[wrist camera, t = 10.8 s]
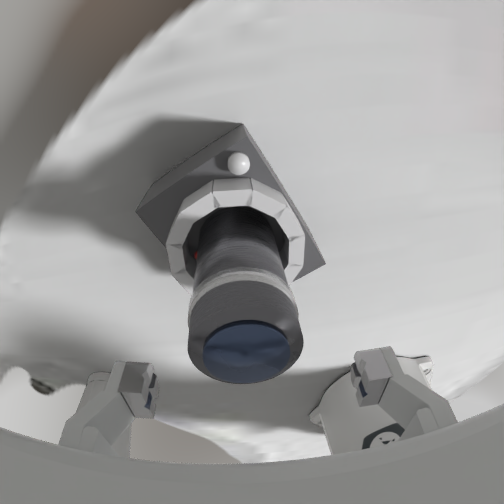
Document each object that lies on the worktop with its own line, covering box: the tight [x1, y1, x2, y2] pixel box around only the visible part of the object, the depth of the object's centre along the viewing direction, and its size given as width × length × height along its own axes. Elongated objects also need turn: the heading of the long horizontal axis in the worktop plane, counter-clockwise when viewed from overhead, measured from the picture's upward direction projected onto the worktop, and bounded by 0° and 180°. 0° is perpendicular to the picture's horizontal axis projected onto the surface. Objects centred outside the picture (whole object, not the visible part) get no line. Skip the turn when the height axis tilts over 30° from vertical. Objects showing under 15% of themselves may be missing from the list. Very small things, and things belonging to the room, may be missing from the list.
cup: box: [76, 372, 132, 458], centre depth 30 cm, size 8×8×12 cm
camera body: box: [135, 124, 326, 296], centre depth 21 cm, size 10×9×7 cm
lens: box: [188, 206, 303, 384], centre depth 16 cm, size 5×5×9 cm
